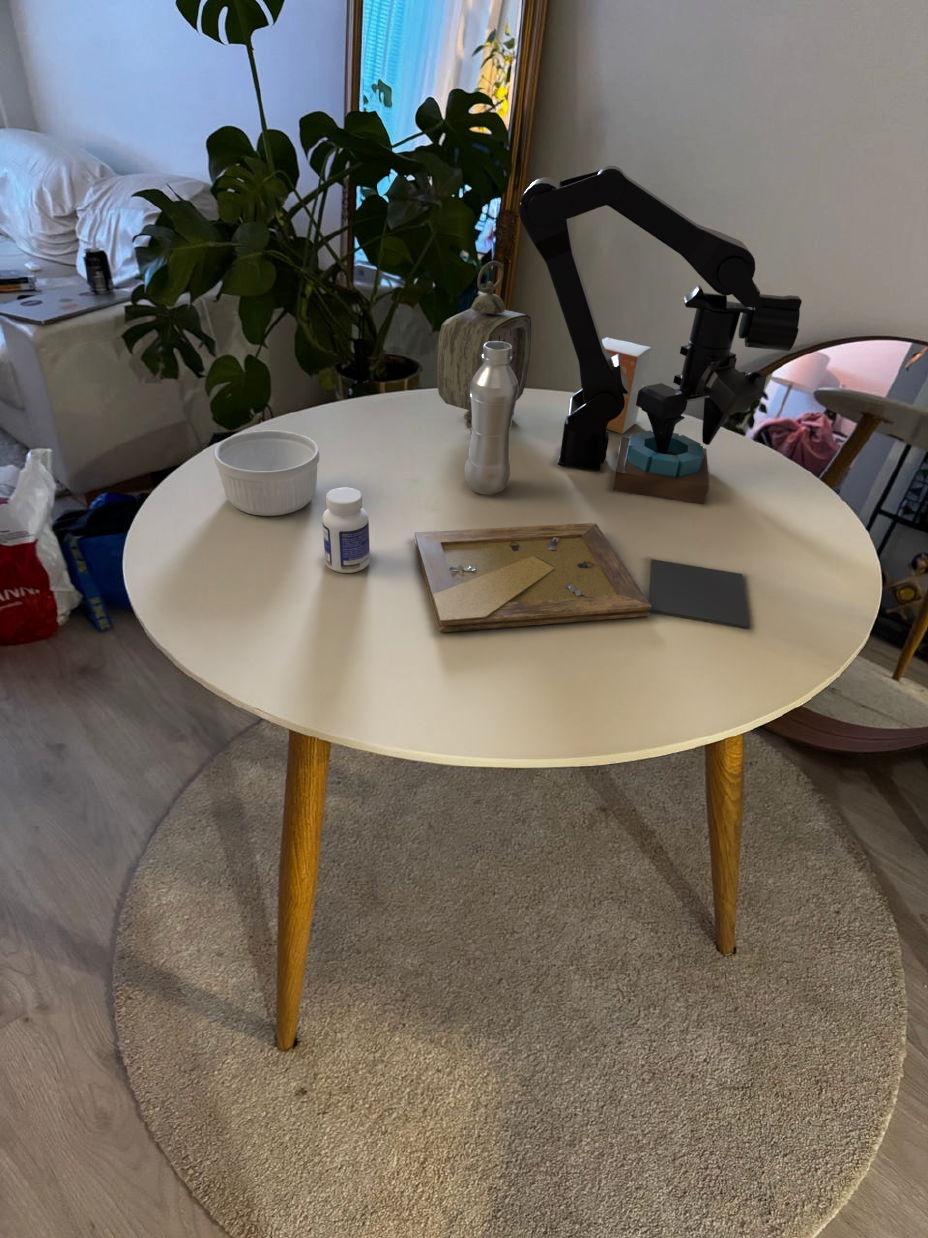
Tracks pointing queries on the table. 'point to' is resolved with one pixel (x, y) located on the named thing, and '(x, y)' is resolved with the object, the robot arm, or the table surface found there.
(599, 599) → the picture frame
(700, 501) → the platform
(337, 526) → the pill bottle
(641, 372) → the small box
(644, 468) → the ring
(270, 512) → the ramekin
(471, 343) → the tabletop clock
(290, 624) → the table surface
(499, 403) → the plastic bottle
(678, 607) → the mat
